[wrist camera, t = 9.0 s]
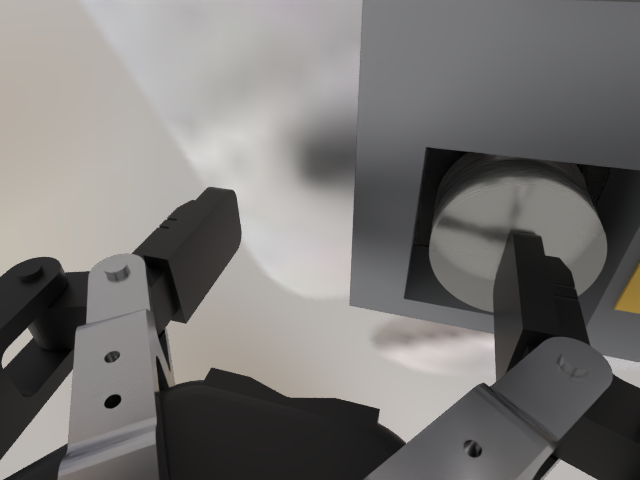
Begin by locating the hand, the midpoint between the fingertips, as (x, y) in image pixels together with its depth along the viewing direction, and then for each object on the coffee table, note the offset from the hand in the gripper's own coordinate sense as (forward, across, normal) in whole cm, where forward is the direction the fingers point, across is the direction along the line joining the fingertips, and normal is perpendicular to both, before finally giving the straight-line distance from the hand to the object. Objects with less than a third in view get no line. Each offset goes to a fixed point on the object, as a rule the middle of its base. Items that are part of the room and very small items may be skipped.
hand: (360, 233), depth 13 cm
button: (+3, -4, 0) cm, 5 cm away
